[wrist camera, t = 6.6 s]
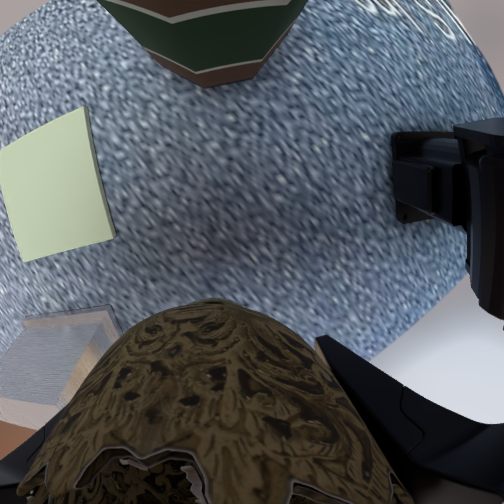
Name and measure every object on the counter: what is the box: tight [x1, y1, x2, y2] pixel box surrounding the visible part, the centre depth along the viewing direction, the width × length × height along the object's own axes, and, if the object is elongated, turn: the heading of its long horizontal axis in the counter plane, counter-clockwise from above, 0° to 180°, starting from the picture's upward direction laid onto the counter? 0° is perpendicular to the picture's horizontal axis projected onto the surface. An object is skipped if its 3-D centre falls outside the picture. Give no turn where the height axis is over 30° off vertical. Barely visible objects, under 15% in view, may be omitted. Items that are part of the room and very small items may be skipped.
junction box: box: [0, 305, 123, 430], centre depth 16 cm, size 10×5×10 cm, turn 100°
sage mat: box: [0, 106, 116, 262], centre depth 16 cm, size 9×9×1 cm
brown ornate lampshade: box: [16, 298, 415, 504], centre depth 7 cm, size 8×7×8 cm
